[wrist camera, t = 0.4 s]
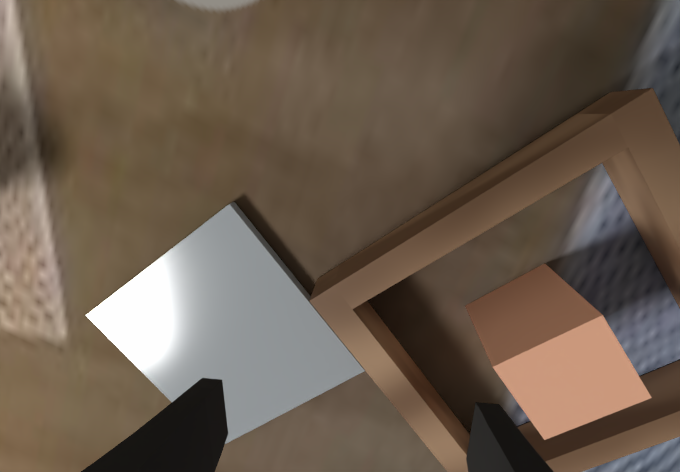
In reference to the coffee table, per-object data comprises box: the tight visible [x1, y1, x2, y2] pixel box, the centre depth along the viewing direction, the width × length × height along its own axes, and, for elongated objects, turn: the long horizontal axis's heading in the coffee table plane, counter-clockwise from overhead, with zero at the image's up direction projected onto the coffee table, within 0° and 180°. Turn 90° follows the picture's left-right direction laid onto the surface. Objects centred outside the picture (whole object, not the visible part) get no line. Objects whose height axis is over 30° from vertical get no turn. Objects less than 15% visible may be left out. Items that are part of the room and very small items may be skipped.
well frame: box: [309, 88, 680, 472], centre depth 18 cm, size 16×16×2 cm
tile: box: [86, 202, 365, 444], centre depth 21 cm, size 12×12×1 cm
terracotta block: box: [465, 263, 652, 440], centre depth 17 cm, size 4×4×5 cm
